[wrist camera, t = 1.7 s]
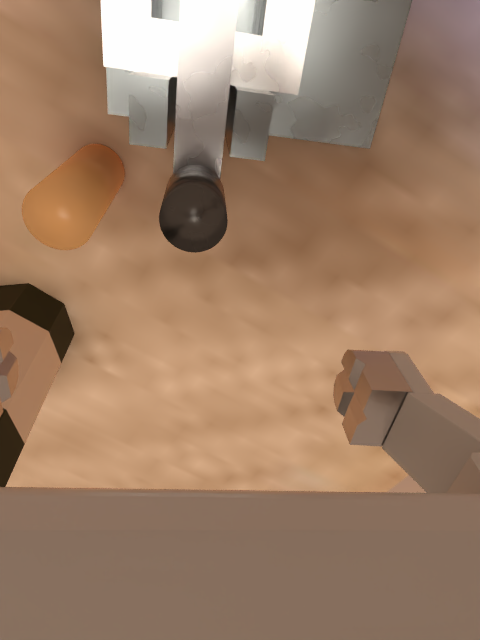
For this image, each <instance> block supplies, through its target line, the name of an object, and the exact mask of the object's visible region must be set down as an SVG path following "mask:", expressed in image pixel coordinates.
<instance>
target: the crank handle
mask: <svg viewBox="0 0 480 640" xmlns="http://www.w3.org/2000/svg"><path fill="white" fill-rule="evenodd" d="M238 2H239V0H181V2H180V25H179V48H178V71H177V94H176V117H175V140H174V163H173V175H172V176H171V177H170V179H169V181H168V184H167V188H166V191H165V195H164V199H163V202H162V206H161V210H160V215H159V222H160V227H161V230H162V232H163V234H164V236H165V237H166V239H167V240H168V241H169V242H170V243H171V244H172V245H174V246H175V247H177V248H179V249H181V250H184V251H187V252H202V251H205V250H208V249H210V248H212V247H214V246H215V245H216V244H217V243H218V242H219V241H220V240H221V239H222V237H223V236H224V234H225V231H226V228H227V212H226V204H225V196H224V189H223V185H222V182H221V180H220V175H221V165H222V156H223V146H224V136H225V127H226V117H227V108H228V98H229V89H230V79H231V69H232V60H233V50H234V41H235V31H236V21H237V12H238Z"/></svg>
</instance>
